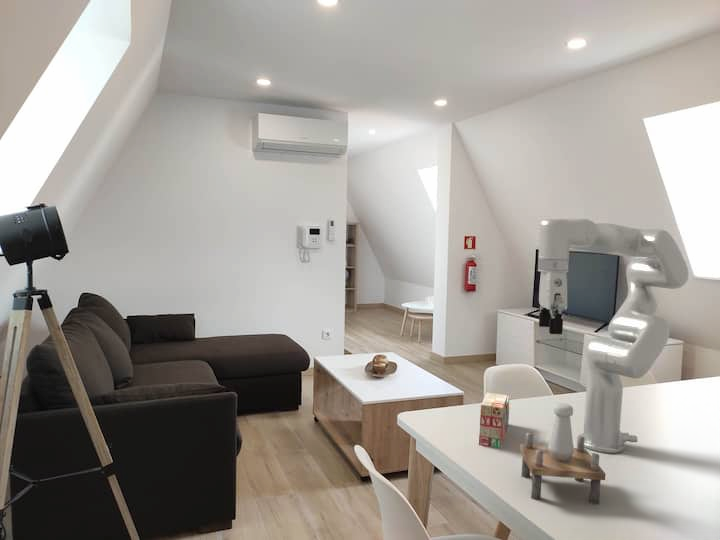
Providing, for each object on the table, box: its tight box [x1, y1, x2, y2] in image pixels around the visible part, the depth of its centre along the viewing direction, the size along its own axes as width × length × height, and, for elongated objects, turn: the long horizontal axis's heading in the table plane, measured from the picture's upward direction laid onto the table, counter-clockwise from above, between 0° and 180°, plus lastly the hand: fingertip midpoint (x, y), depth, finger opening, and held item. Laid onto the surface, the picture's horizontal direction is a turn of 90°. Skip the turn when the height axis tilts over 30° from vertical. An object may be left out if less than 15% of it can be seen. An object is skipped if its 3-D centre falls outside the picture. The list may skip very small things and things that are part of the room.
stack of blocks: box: [478, 392, 510, 450], centre depth 161 cm, size 21×6×12 cm, turn 159°
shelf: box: [519, 432, 607, 505], centre depth 127 cm, size 16×14×11 cm
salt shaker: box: [547, 402, 575, 462], centre depth 127 cm, size 6×6×13 cm
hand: (550, 330), depth 142 cm, fingers open, 9 cm apart
